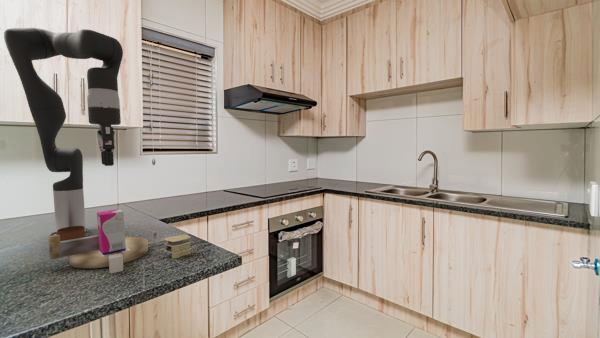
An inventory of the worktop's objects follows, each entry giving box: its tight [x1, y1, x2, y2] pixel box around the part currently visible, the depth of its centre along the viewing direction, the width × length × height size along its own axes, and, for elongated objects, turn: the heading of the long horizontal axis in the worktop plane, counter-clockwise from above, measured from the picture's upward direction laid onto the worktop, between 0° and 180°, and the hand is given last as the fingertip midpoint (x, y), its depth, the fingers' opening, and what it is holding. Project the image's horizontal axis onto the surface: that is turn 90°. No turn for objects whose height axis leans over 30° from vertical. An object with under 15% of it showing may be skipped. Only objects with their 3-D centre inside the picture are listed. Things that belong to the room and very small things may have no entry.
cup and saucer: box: [49, 226, 90, 241], centre depth 100 cm, size 12×12×6 cm
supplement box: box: [96, 208, 126, 255], centre depth 85 cm, size 6×6×12 cm
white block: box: [108, 253, 124, 274], centre depth 80 cm, size 5×3×4 cm, turn 37°
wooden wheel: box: [48, 234, 149, 269], centre depth 88 cm, size 24×20×9 cm
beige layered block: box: [163, 234, 193, 259], centre depth 90 cm, size 10×9×6 cm
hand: (107, 165), depth 84 cm, fingers open, 8 cm apart
